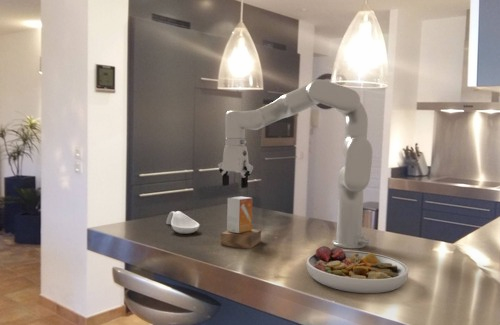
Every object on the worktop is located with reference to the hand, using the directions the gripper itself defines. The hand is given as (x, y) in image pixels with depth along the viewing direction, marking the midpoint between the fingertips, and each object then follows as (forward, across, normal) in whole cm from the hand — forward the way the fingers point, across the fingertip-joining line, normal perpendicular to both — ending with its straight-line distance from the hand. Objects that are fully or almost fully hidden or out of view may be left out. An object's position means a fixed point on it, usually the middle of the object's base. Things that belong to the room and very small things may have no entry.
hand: (234, 186), depth 182 cm
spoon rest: (+22, +30, +1) cm, 37 cm away
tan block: (+22, -4, +1) cm, 23 cm away
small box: (+17, -3, +1) cm, 18 cm away
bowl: (+23, -56, +8) cm, 61 cm away
